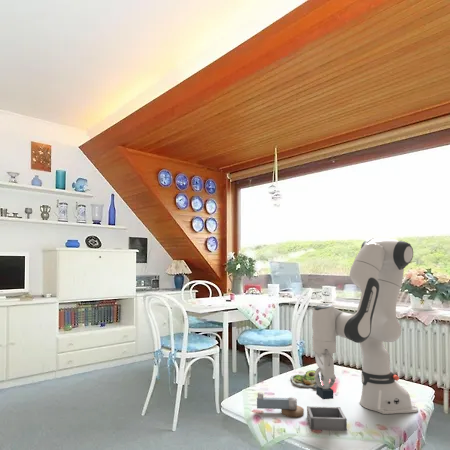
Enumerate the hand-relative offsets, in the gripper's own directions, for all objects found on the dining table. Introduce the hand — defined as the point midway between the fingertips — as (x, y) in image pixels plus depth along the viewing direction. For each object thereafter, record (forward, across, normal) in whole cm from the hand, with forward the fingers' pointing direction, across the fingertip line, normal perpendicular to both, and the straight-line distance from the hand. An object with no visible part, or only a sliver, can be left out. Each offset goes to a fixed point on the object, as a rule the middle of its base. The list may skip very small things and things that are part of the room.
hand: (324, 383), depth 149 cm
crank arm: (+13, +9, +18) cm, 24 cm away
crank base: (+15, +9, +12) cm, 21 cm away
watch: (+5, 0, 0) cm, 5 cm away
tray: (+15, 0, 0) cm, 15 cm away
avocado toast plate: (+15, +47, 0) cm, 50 cm away
